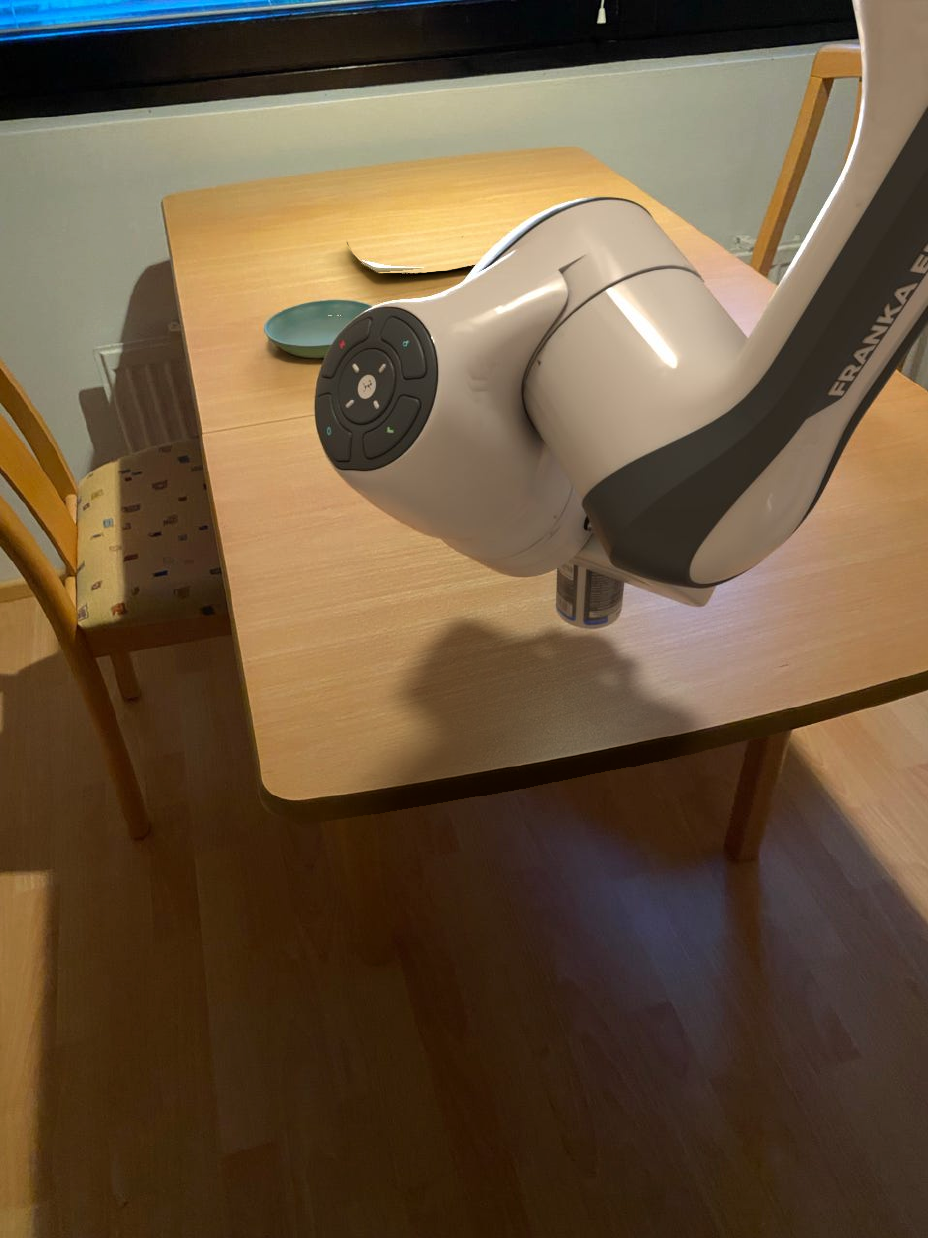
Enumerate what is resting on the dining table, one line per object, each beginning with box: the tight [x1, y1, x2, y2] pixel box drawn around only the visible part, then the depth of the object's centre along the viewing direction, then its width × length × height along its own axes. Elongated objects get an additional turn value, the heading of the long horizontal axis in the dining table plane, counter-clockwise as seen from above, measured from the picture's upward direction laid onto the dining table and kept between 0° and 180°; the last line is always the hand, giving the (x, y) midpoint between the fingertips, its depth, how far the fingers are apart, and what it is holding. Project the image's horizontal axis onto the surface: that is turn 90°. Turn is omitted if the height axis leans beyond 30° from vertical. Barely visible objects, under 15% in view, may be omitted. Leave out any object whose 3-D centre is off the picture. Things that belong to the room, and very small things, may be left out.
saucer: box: [263, 298, 374, 359], centre depth 117 cm, size 15×15×3 cm
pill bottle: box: [555, 562, 625, 630], centre depth 64 cm, size 5×5×8 cm
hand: (598, 552), depth 65 cm, fingers closed on pill bottle, 5 cm apart
